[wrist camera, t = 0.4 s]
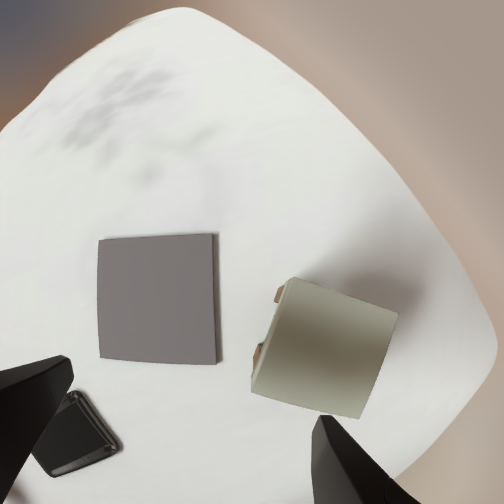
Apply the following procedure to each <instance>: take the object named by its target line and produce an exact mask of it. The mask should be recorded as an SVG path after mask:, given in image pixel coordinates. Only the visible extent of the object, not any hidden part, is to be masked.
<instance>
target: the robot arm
mask: <svg viewBox="0 0 504 504" xmlns="http://www.w3.org/2000/svg"><path fill="white" fill-rule="evenodd" d="M73 379H74V373H73V369H72V364H71V361H70V359H69V358H67V357H65V356H63V355H59V356H55V357H51V358H48V359H44V360H41V361H37V362H33V363H30V364H26V365H22V366H18V367H14V368H11V369H7V370H3V371H0V504H3V502H4V500H5V498H6V496H7V494H8V492H9V490H10V489H11V487H12V485H13V483H14V481H15V479H16V477H17V476H18V474H19V472H20V470H21V469H22V467H23V465H24V463H25V462H26V460H27V458H28V457H29V455H30V453H31V452H32V450H33V448H34V447H35V445H36V443H37V442H38V440H39V439H40V437H41V435H42V434H43V432H44V431H45V429H46V427H47V426H48V424H49V423H50V421H51V420H52V418H53V417H54V415H55V414H56V412H57V410H58V409H59V407H60V405H61V403H62V401H63V399H64V397H65V395H66V393H67V391H68V390H69V388H70V386H71V384H72V382H73ZM311 476H312V485H313V495H314V504H421V503H419V502H418V501H417V500H416V499H414V498H413V497H412V496H410V495H409V494H408V493H407V492H406V491H404V490H403V489H402V488H401V487H400V486H399V485H398V484H397V483H396V482H395V481H394V480H393V479H392V478H390V476H389V475H388V474H387V473H386V472H385V471H384V470H383V469H382V468H381V467H380V466H379V465H378V464H377V463H376V462H375V461H374V460H373V459H372V458H371V457H370V456H369V455H368V454H367V453H366V452H365V451H364V449H363V448H362V447H361V446H360V445H359V444H358V443H357V442H356V441H355V440H354V439H353V438H352V437H351V436H350V435H349V433H348V432H347V431H346V430H345V429H344V428H343V427H342V426H341V425H340V424H339V423H338V422H337V420H336V419H335V418H334V417H333V416H331V415H320V416H319V417H318V420H317V422H316V424H315V427H314V429H313V432H312V455H311Z"/></svg>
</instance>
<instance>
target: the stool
mask: <svg viewBox="0 0 504 504" xmlns="http://www.w3.org/2000/svg"><path fill="white" fill-rule="evenodd" d="M274 302H276V303H278V306H277V308H276V311H275V314H274V317H273V320H272V322H271V325H270V328H269V330H268V333H267V336H266V339H265V341H264V344H263V346H262V345H259V344H258V346H257V348H256V351H255V354H254V356H253V373H252V375H251V393H255V394H258V395H261V396H264V397H268V398H271V399H274V400H278V401H281V402H285V403H288V404H292V405H296V406H300V407H304V408H308V409H312V410H316V411H320V412H325V413H329V414H334V415H339V416H344V417H349V418H354V419H359V418H360V416H361V414H362V412H363V410H364V407H365V405H366V403H367V401H368V398H369V396H370V394H371V391H372V389H373V387H374V384H375V382H376V379H377V377H378V374H379V371H380V369H381V366H382V363H383V361H384V358H385V355H386V352H387V349H388V347H389V344H390V341H391V338H392V334H393V331H394V328H395V325H396V322H397V318H398V315H399V313H396V312H393V311H391V310H388V309H385V308H382V307H379V306H376V305H373V304H370V303H367V302H364V301H361V300H358V299H356V298H353V297H350V296H347V295H344V294H341V293H338V292H335V291H332V290H330V289H327V288H324V287H321V286H318V285H315V284H312V283H310V282H307V281H304V280H301V279H298V278H295V277H293V278H291V279H290V280H288V281H286V283H285V285H283V286H282V287H280V288H278V291H277V294H276V296H275V299H274Z"/></svg>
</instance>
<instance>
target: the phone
mask: <svg viewBox="0 0 504 504" xmlns="http://www.w3.org/2000/svg"><path fill="white" fill-rule="evenodd" d="M117 451H118V444H117V442H116V441H115V439H114V438H113V437H112V436H111V434H110V433H109V432H108V430H107V429H106V428H105V427H104V425H103V424H102V423H101V421H100V420H99V418H98V417H97V416H96V414H95V413H94V411H93V410H92V409H91V407H90V406H89V404H88V403H87V401H86V400H85V398H84V397H83V396H82V394H81V393H79V392H78V391H71V392H69V393H67V394H66V395H65V397H64V399H63V401H62V403H61V405H60V407H59V409H58V410H57V412H56V414H55V415H54V417H53V418H52V420H51V421H50V423H49V424H48V426H47V427H46V429H45V431H44V432H43V434H42V435H41V437H40V439H39V440H38V442H37V443H36V445H35V447H34V448H33V450H32V452H31V453H32V455H33V456H34V458H35V459H36V460H37V462H38V463H39V464H40V466H41V467H42V468H43V470H44V471H45V472H46V473H47V474H48V475H49V476H50V477H53V478H56V477H59V476H62V475H64V474H67V473H70V472H73V471H75V470H78V469H81V468H83V467H86V466H88V465H91V464H93V463H96V462H98V461H101V460H103V459H106V458H108V457H110V456H112V455H114V454H115V453H116V452H117Z"/></svg>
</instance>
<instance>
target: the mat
mask: <svg viewBox="0 0 504 504" xmlns="http://www.w3.org/2000/svg"><path fill="white" fill-rule="evenodd" d="M97 315H98V336H99V350H100V358H106V359H115V360H125V361H136V362H149V363H165V364H191V365H216V364H217V358H216V337H215V313H214V281H213V235H212V234H198V235H178V236H160V237H142V238H125V239H109V240H99V245H98V267H97Z"/></svg>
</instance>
